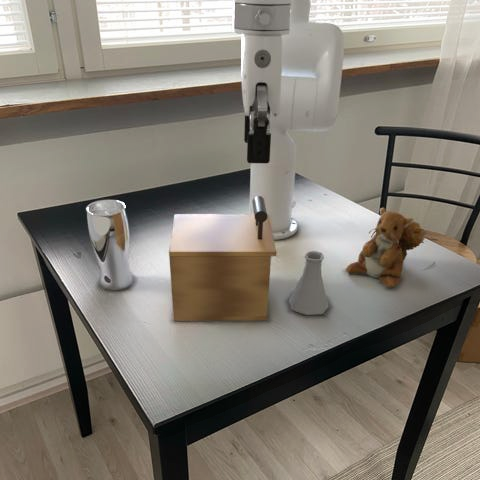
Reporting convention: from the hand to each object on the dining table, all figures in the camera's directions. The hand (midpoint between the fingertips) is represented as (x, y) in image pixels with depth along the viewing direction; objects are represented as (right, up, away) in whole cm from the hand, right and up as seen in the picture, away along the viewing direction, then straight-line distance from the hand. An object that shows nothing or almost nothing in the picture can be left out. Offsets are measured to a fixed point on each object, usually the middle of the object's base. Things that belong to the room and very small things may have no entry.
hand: (256, 152), depth 75 cm
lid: (-5, -11, +8) cm, 15 cm away
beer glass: (-26, -18, +19) cm, 37 cm away
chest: (-6, -21, +15) cm, 27 cm away
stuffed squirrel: (+26, -16, +24) cm, 39 cm away
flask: (+10, -23, +14) cm, 29 cm away
